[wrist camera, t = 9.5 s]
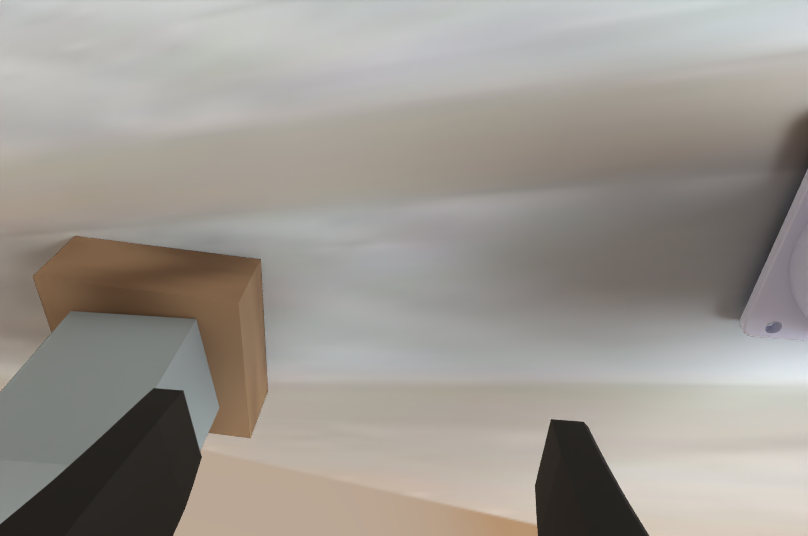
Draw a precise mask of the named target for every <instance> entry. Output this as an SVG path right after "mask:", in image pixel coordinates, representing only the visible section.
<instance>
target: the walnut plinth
mask: <svg viewBox="0 0 808 536" xmlns="http://www.w3.org/2000/svg"><path fill="white" fill-rule="evenodd" d="M33 278H34V281H35V284H36V287H37V290H38V293H39V296H40V299H41V302H42V305H43V308H44V311H45V314H46V317H47V320H48V323H49V326H50V329H51V332H53V331H54V330H55V329H56V328H57V326H58V325H59V324H60V323H61V322H62V321H63V319H64V318H65V317H66V316H67V315H68V314H69V313H70V311H77V312H93V313H109V314H125V315H141V316H157V317H173V318H189V319H196V320H197V324H198V327H199V331H200V335H201V339H202V343H203V346H204V350H205V354H206V358H207V362H208V366H209V369H210V373H211V377H212V381H213V385H214V389H215V392H216V396H217V400H218V404H219V410H218V412H217V415H216V417H215V419H214V421H213V424H212V426H211V428H210V430H209V432H208V433H215V434H223V435H230V436H238V437H245V438H251V435H252V432H253V430H254V427H255V424H256V422H257V419H258V416H259V414H260V411H261V408H262V406H263V403H264V400H265V398H266V395H267V392H268V383H267V365H266V346H265V328H264V310H263V291H262V273H261V259H254V258H246V257H238V256H230V255H222V254H214V253H206V252H198V251H190V250H182V249H175V248H167V247H159V246H151V245H143V244H135V243H127V242H119V241H111V240H103V239H95V238H88V237H80V236H75V237H74V238H73V239H72V240H70V241H69V242H68V243H67V244H66V245H65V246H64V247H63V248H62V249H61V250H60V251H59V252H58V253H57V254H56V255H55V256H54V257H53V258H52V259H51V260H49V261H48V262H47V263H46V264H45V265H44V266H43V267H42V268H41V269H40V270H39V271H38V272H37V273H36V274H35V275H34V276H33Z"/></svg>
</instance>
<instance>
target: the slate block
mask: <svg viewBox="0 0 808 536" xmlns="http://www.w3.org/2000/svg"><path fill="white" fill-rule="evenodd" d="M153 388H159V389H172V390H184V394H185V398H186V401H187V405H188V409H189V412H190V416H191V420H192V423H193V427H194V431H195V434H196V438H197V442H198V445H199V449H200V450H201V448H202V446H203V444H204V441H205V439H206V437H207V435H208V432H209V430H210V428H211V426H212V424H213V421H214V419H215V417H216V415H217V412H218V410H219V404H218V400H217V396H216V392H215V389H214V385H213V381H212V377H211V373H210V369H209V366H208V362H207V358H206V354H205V350H204V346H203V343H202V339H201V335H200V331H199V327H198V324H197V320H196V319H189V318H173V317H157V316H141V315H125V314H109V313H93V312H77V311H70V313H69V314H68V315H67V316H66V317H65V318H64V319H63V321H62V322H61V323H60V324H59V325H58V326H57V328H56V329H55V330H54V331H53V332H52V333H51V334H50V336H49V337H48V338H47V339H46V340H45V341H44V342H43V344H42V345H41V346H40V347H39V348H38V349H37V350H36V352H35V353H34V354H33V355H32V356H31V357H30V359H29V360H28V361H27V362H26V363H25V364H24V365H23V367H22V368H21V369H20V370H19V371H18V372H17V373H16V375H15V376H14V377H13V378H12V379H11V380H10V381H9V383H8V384H7V385H6V386H5V387H4V388H3V390H2V391H1V392H0V524H1V523H2V522H3V521H4V520H6V519H7V518H8V517H9V516H11V515H12V514H13V513H14V512H15V511H17V510H18V509H19V508H20V507H21V506H23V505H24V504H25V503H26V502H27V501H29V500H30V499H31V498H32V497H33V496H35V495H36V494H37V493H38V492H39V491H41V490H42V489H43V488H44V487H45V486H47V485H48V484H49V483H50V482H51V481H52V480H53V479H55V478H56V477H57V476H58V475H59V474H60V473H61V472H62V471H64V470H65V469H66V468H67V467H68V466H69V465H70V464H71V463H73V462H74V461H75V460H76V459H77V458H78V457H79V456H80V455H81V454H83V453H84V452H85V451H86V450H87V449H88V448H89V447H90V446H91V445H93V444H94V443H95V442H96V441H97V440H98V439H99V438H100V437H101V436H102V435H103V434H104V433H106V432H107V431H108V430H109V429H110V428H111V427H112V426H113V425H114V424H115V423H116V422H117V421H118V420H119V419H121V418H122V417H123V416H124V415H125V414H126V413H127V412H128V411H129V410H130V409H131V408H132V407H133V406H134V405H135V404H137V403H138V402H139V401H140V400H141V399H142V398H143V397H144V396H145V395H146V394H148V393H149V392H150V391H151V390H152V389H153Z"/></svg>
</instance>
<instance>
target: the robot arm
mask: <svg viewBox="0 0 808 536" xmlns="http://www.w3.org/2000/svg"><path fill="white" fill-rule="evenodd" d="M772 322H775V323H774V324H773V325H771V326H767V325H768V324H770V323H772ZM739 324H740V326H741V328H742V330H743V331H744V333H745V334H747V335H749V336H753V337H767V338H781V339H796V340H808V169H807V171H806V174H805V176H804V178H803V180H802V183H801V185H800V187H799V189H798V192H797V194H796V196H795V198H794V200H793V203H792V205H791V207H790V209H789V212H788V214H787V216H786V218H785V220H784V223H783V225H782V227H781V229H780V232H779V234H778V236H777V238H776V241H775V243H774V245H773V247H772V249H771V252H770V254H769V256H768V258H767V261H766V263H765V265H764V267H763V269H762V272H761V274H760V276H759V278H758V281H757V283H756V285H755V287H754V290H753V292H752V294H751V296H750V298H749V301H748V303H747V305H746V307H745V310H744V312H743V314H742V316H741V318H740V323H739ZM201 458H202V456H201V453H200V449H199V445H198V442H197V438H196V434H195V431H194V427H193V423H192V420H191V416H190V412H189V409H188V405H187V401H186V398H185V394H184V390H172V389H159V388H153V389H152V390H151V391H150V392H149V393H148V394H146V395H145V396H144V397H143V398H142V399H141V400H140V401H139V402H138V403H137V404H135V405H134V406H133V407H132V408H131V409H130V410H129V411H128V412H127V413H126V414H125V415H124V416H123V417H122V418H121V419H119V420H118V421H117V422H116V423H115V424H114V425H113V426H112V427H111V428H110V429H109V430H108V431H107V432H106V433H104V434H103V435H102V436H101V437H100V438H99V439H98V440H97V441H96V442H95V443H94V444H93V445H91V446H90V447H89V448H88V449H87V450H86V451H85V452H84V453H83V454H81V455H80V456H79V457H78V458H77V459H76V460H75V461H74V462H73V463H71V464H70V465H69V466H68V467H67V468H66V469H65V470H64V471H62V472H61V473H60V474H59V475H58V476H57V477H56V478H55V479H53V480H52V481H51V482H50V483H49V484H48V485H47V486H45V487H44V488H43V489H42V490H41V491H39V492H38V493H37V494H36V495H35V496H33V497H32V498H31V499H30V500H29V501H27V502H26V503H25V504H24V505H23V506H21V507H20V508H19V509H18V510H17V511H15V512H14V513H13V514H12V515H11V516H9V517H8V518H7V519H6V520H4V521H3V522H2V523H1V524H0V536H173V534H174V532H175V529H176V528H177V525H178V523H179V521H180V519H181V516H182V514H183V512H184V510H185V507H186V504H187V501H188V498H189V495H190V493H191V490H192V487H193V484H194V480H195V477H196V474H197V470H198V467H199V464H200V461H201ZM535 494H536V513H537V528H538V536H649V535H648V533H647V531H646V530H645V528H644V527H643V525H642V523H641V522H640V520H639V518H638V517H637V515H636V514H635V512H634V510H633V509H632V507H631V505H630V504H629V502H628V500H627V499H626V497H625V495H624V493H623V492H622V490H621V488H620V486H619V485H618V483H617V481H616V479H615V478H614V476H613V474H612V472H611V470H610V469H609V467H608V465H607V463H606V461H605V459H604V457H603V455H602V454H601V452H600V450H599V448H598V446H597V444H596V442H595V440H594V438H593V436H592V434H591V432H590V430H589V428H588V426H587V425H586V424H585V423H584V422H578V421H565V420H552V419H551V422H550V426H549V430H548V434H547V438H546V442H545V447H544V451H543V455H542V459H541V463H540V467H539V471H538V475H537V480H536V484H535Z"/></svg>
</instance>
